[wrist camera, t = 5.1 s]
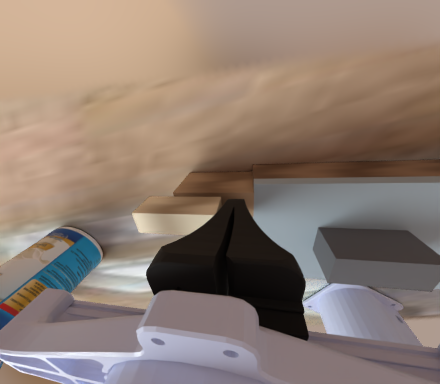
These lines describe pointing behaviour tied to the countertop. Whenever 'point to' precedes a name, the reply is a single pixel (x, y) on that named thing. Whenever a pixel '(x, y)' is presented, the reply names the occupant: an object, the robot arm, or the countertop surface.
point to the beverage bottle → (46, 269)
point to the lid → (356, 228)
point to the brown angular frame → (295, 176)
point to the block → (175, 214)
